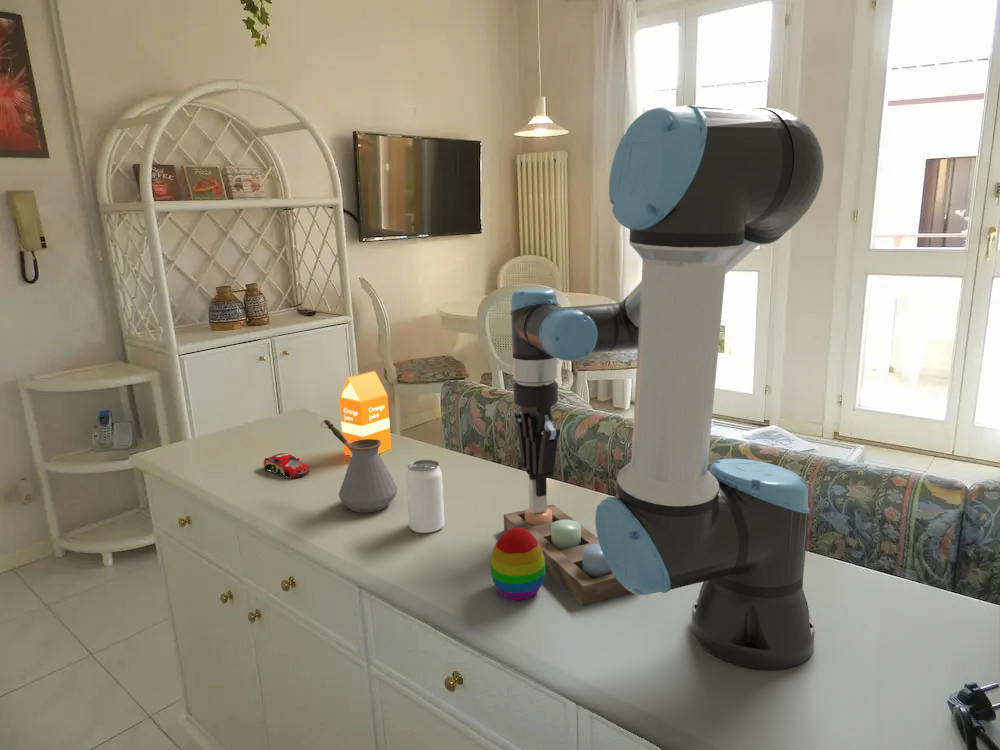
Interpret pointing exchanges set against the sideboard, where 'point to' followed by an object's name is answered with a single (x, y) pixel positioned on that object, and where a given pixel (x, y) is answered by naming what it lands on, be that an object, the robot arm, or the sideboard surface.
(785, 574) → the robot arm
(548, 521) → the terracotta button
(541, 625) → the sideboard surface
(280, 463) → the race car
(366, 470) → the coffee pot
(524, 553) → the decorative egg
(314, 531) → the sideboard surface
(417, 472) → the can
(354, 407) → the orange juice
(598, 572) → the slate blue button
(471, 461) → the sideboard surface
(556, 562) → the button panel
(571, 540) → the sage button
